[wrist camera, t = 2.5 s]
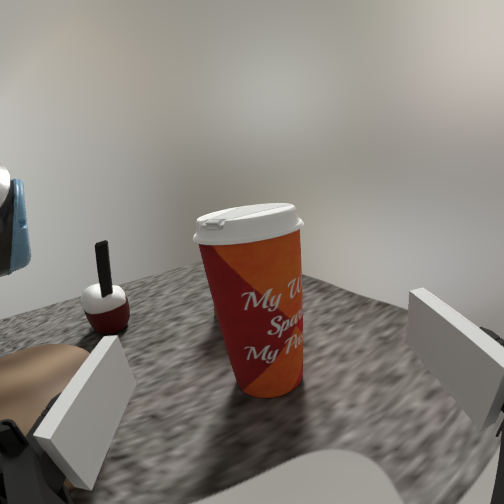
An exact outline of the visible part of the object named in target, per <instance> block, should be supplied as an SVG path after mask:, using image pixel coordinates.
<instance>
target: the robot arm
mask: <svg viewBox="0 0 504 504" xmlns="http://www.w3.org/2000/svg"><path fill="white" fill-rule="evenodd" d="M30 260H31V249H30V243H29V235H28V228H27V219H26V211H25V199H24V187H23V182H22V180H20V179H18V180H16V179H13V180H10V176H9V173H8V171H7V169H6V168H5V167H4V166H3V165H2V164H0V277H1V276H5V275H10V274H11V273H12V272H14V271H16V270H19V269H21V268H24V267H25V266H27V265H28V264H29V262H30ZM406 343H407V345H408V346H409V347H410V348H411V349H412V350H413V351H414V352H415V354H416V355H417V356H418V357H419V358H420V359H421V360H422V362H423V363H424V364H425V365H426V366H427V367H428V368H429V370H430V371H431V372H432V373H433V374H434V375H435V377H436V378H437V379H438V380H439V381H440V382H441V384H442V385H443V386H444V387H445V388H446V390H447V391H448V392H449V393H450V394H451V396H452V397H453V398H454V399H455V400H456V402H457V403H458V404H459V405H460V406H461V408H462V409H463V410H464V411H465V413H466V414H467V415H468V416H469V418H470V419H471V420H472V421H473V423H474V424H475V425H476V426H477V428H478V429H479V430H480V431H481V430H483V429H485V428H486V427H488V426H490V425H492V424H493V423H495V422H496V420H497V417H498V415H499V413H500V411H501V410H502V412H503V413H504V340H503V339H502V338H501V339H500V337H499V336H498V335H496V334H495V333H494V332H493V331H491V330H488V329H485V328H483V327H480V328H478V327H477V326H476V325H474V324H473V323H472V322H470V321H469V320H468V319H466V318H465V317H464V316H462V315H461V314H459V313H458V312H457V311H455V310H454V309H453V308H451V307H450V306H448V305H447V304H445V303H444V302H443V301H441V300H440V299H439V298H437V297H436V296H434V295H433V294H431V293H430V292H429V291H427V290H426V289H424V288H419V289H415V290H411V291H409V308H408V322H407V334H406ZM136 384H137V383H136V381H135V379H134V376H133V374H132V371H131V369H130V366H129V364H128V361H127V359H126V356H125V353H124V351H123V348H122V345H121V343H120V340H119V337H118V335H117V336H104V337H103V338H102V339H101V341H100V342H99V343H98V345H97V346H96V347H95V348H94V350H93V351H92V352H91V354H90V355H89V356H88V358H87V359H86V360H85V362H84V363H83V364H82V366H81V367H80V368H79V370H78V371H77V373H76V374H75V375H74V377H73V378H72V379H71V381H70V382H69V384H68V385H67V386H66V388H65V389H64V391H63V392H60V393H59V394H57V395H56V396H55V397H54V398H52V399H51V400H50V402H49V403H48V405H47V406H46V407H45V408H46V409H44V410H43V412H42V413H41V416H39V417H38V419H37V420H36V422H35V423H34V425H33V426H32V428H31V429H30V430H29V432H28V433H27V435H26V436H24V434H23V433H22V431H21V430H20V429H19V427H18V426H17V424H16V423H15V422H14V421H13V420H10V419H4V420H1V421H0V504H74V503H73V501H72V499H71V496H70V494H69V491H68V489H67V488H66V486H65V485H64V484H63V483H64V481H65V479H66V478H67V479H68V480H69V481H70V482H71V483H72V484H73V486H74V487H77V488H81V489H86V490H90V491H92V489H93V486H94V484H95V481H96V479H97V476H98V474H99V471H100V469H101V466H102V464H103V461H104V459H105V456H106V454H107V451H108V449H109V446H110V444H111V442H112V439H113V437H114V434H115V432H116V430H117V427H118V425H119V423H120V420H121V418H122V416H123V413H124V411H125V409H126V407H127V404H128V402H129V400H130V398H131V395H132V393H133V391H134V389H135V386H136ZM501 431H502V436H501V446H500V454H499V461H498V468H497V474H496V480H495V485H494V490H493V495H492V499H491V503H490V504H504V419H503V421H502V423H501V425H500V427H499V429H498V431H497V434H496V437H498V436H499V434H500V432H501Z"/></svg>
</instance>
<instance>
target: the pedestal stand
mask: <svg viewBox="0 0 504 504" xmlns="http://www.w3.org/2000/svg"><path fill="white" fill-rule="evenodd" d="M89 355H90V353H89V352H87V351H86V350H84V349H82V348H79V347H76V346H72V345H66V344H49V345H41V346H35V347H31V348H27V349H23V350H20V351H17V352H14V353H12V354H9V355H7V356H5V357H2V358H0V421H1V420H4V419H10V420H13V421H14V422H15V423H16V424H17V426H18V427H19V429H20V430H21V431H22V433H23V434H24V436H26V435H27V433H28V432H29V430H30V429H31V428H32V426H33V425H34V423H35V422H36V420H37V419H38V417H39V416H41V413H42V412H43V410H44V409H46V408H45V407H46V406H47V405H48V403H49V402H50V400H51V399H52V398H54V397H55V396H56V395H57V394H59V393H60V392H63V391H64V389H65V388H66V386H67V385H68V384H69V382H70V381H71V379H72V378H73V377H74V375H75V374H76V373H77V371H78V370H79V368H80V367H81V366H82V364H83V363H84V362H85V360H86V359H87V358H88V356H89ZM107 452H108V451H107ZM106 455H107V454H106ZM105 457H106V456H105ZM63 484H64V485H65V486H66V488H67V489H68V491H69V492H71V491H73V490H74V489H76V488H77V487H74V486H73V484H72V483H71V482H70V481H69V480H68V479H67V478H66V479H65V481H64V483H63Z"/></svg>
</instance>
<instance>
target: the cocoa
mask: <svg viewBox="0 0 504 504" xmlns="http://www.w3.org/2000/svg"><path fill="white" fill-rule="evenodd" d="M95 253H96V261H97V270H98V277H99V284H94V285H91V286H89V287H87V288H86V289H85V290H84V291H83V292H82V295H81V298H80V300H81V303H82V306H83V309H84V312H85V314H86V317H87V319H88V321H89V323H90V324H91V326H92V327H93V329H94V330H95V331H97V332H99V333H102V334H114V333H117V332H119V331H121V330H122V329H123V328H124V327H125V326H126V325H127V323H128V320H129V317H130V311H129V303H128V299H127V298H126V297H125V293H124V291H123V290H122V289H121V288H120V287H119V286H113V285H112V279H111V270H110V260H109V249H108V241H106V240H105V241H101V242H98V243H96V245H95Z"/></svg>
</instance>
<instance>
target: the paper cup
mask: <svg viewBox="0 0 504 504" xmlns="http://www.w3.org/2000/svg"><path fill="white" fill-rule="evenodd" d="M303 225H304V223H303V221H302V220H301V219H300V218H298V214H297V211H296V208H295V206H294V205H292V204H287V203H271V204H258V205H250V206H243V207H237V208H231V209H226V210H221V211H217V212H213V213H210V214H207V215H204V216H201V217H199V218H198V219H197V222H196V231H197V233H196V234H195V235H194V237H193V241H194V242H195V243H198V244H199V248H200V252H201V256H202V259H203V264H204V268H205V272H206V276H207V280H208V283H209V287H210V291H211V295H212V299H213V302H214V306H215V310H216V313H217V317H218V321H219V324H220V328H221V331H222V335H223V338H224V342H225V345H226V349H227V352H228V355H229V359H230V362H231V365H232V369H233V372H234V375H235V378H236V380H237V383H238V385H239V387H240V389H241V390H242V391H243V392H244V393H246V394H248V395H250V396H252V397H256V398H275V397H279V396H282V395H285V394H287V393H289V392H291V391H292V390H294V389H295V388H296V387H297V386H298V385H299V383H300V382H301V379H302V373H303V301H302V272H301V248H300V228H301V227H303Z"/></svg>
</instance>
